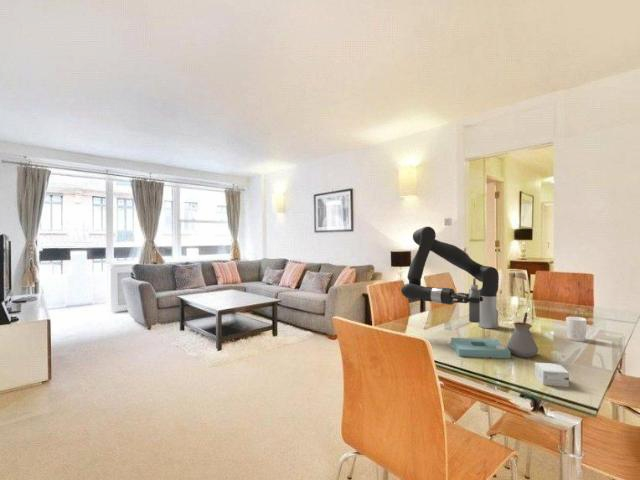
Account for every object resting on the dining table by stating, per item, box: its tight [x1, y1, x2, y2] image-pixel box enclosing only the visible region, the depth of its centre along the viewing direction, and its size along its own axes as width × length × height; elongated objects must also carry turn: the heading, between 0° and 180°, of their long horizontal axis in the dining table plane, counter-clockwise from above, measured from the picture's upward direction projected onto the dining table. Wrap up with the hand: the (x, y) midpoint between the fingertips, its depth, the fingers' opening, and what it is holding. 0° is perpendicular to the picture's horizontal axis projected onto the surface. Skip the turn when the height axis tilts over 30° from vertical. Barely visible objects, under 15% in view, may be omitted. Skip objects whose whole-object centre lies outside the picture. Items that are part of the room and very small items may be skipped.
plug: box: [468, 277, 480, 324], centre depth 151 cm, size 4×4×19 cm
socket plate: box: [450, 337, 512, 359], centre depth 147 cm, size 20×16×4 cm
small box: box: [534, 362, 570, 388], centre depth 116 cm, size 8×8×5 cm
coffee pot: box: [506, 312, 539, 358], centre depth 146 cm, size 21×12×15 cm, turn 142°
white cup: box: [565, 316, 588, 342], centre depth 160 cm, size 8×8×10 cm
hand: (480, 299), depth 149 cm, fingers closed on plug, 4 cm apart
